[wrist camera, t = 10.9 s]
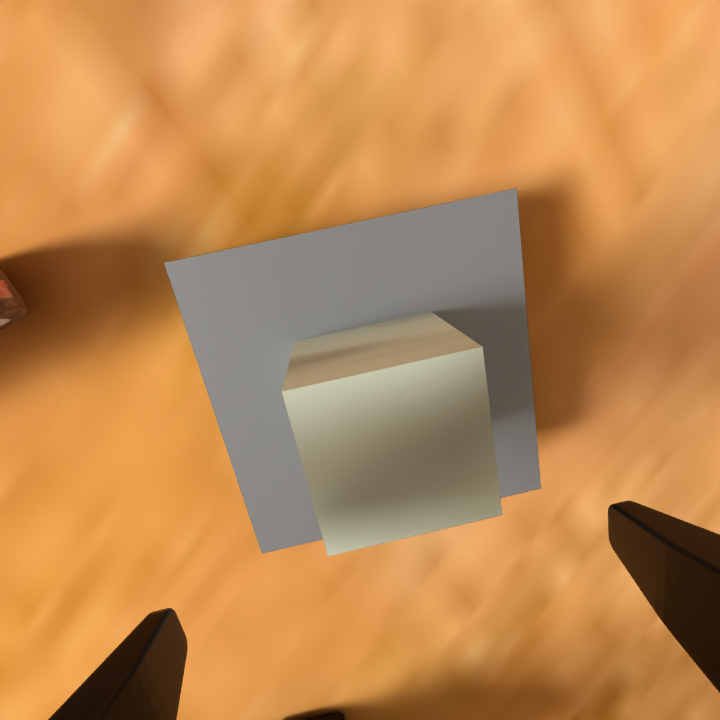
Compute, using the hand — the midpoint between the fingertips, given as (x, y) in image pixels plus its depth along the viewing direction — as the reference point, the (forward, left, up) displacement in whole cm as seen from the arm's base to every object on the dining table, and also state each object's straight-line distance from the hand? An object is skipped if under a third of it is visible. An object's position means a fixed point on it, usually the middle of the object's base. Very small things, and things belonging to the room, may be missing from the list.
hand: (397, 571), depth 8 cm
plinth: (+1, -1, -12) cm, 12 cm away
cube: (+1, -1, -8) cm, 8 cm away
